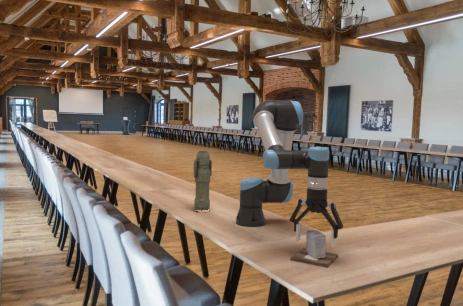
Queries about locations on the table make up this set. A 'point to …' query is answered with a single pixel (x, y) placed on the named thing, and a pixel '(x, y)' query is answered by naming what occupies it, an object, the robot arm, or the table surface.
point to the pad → (307, 258)
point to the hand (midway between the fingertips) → (314, 243)
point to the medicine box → (315, 244)
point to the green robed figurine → (202, 180)
